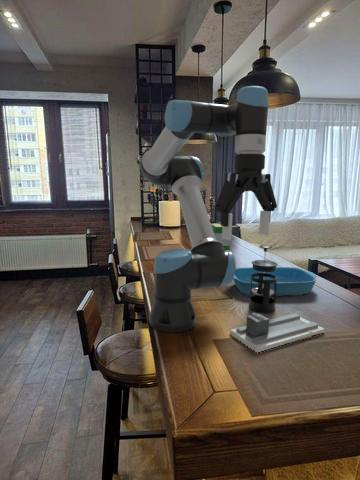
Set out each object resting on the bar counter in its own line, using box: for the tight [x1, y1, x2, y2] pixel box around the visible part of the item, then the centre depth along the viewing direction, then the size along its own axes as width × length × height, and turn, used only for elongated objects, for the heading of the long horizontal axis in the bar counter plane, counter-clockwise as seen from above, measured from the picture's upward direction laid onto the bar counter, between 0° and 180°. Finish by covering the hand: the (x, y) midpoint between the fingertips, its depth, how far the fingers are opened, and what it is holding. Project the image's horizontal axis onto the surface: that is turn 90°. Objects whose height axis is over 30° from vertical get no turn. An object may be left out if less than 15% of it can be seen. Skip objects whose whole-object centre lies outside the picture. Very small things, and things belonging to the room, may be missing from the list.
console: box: [229, 312, 325, 354], centre depth 95 cm, size 26×12×2 cm, turn 117°
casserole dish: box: [232, 266, 317, 297], centre depth 135 cm, size 37×22×7 cm, turn 93°
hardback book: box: [211, 221, 231, 251], centre depth 160 cm, size 18×7×24 cm, turn 9°
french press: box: [248, 244, 279, 314], centre depth 112 cm, size 12×9×23 cm
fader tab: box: [245, 312, 270, 338], centre depth 91 cm, size 4×4×6 cm
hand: (246, 236), depth 84 cm, fingers open, 13 cm apart
